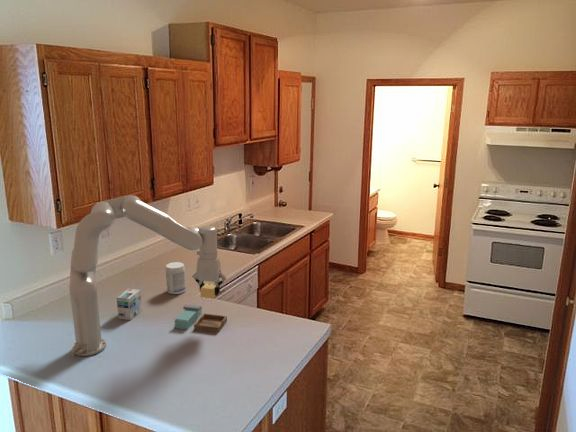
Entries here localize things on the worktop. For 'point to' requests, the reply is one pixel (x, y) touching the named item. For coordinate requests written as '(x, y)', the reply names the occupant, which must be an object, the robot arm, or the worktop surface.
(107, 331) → the worktop surface
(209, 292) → the stub
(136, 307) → the light bulb box
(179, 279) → the supplement tub
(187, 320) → the mint slotted bar
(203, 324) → the tray
